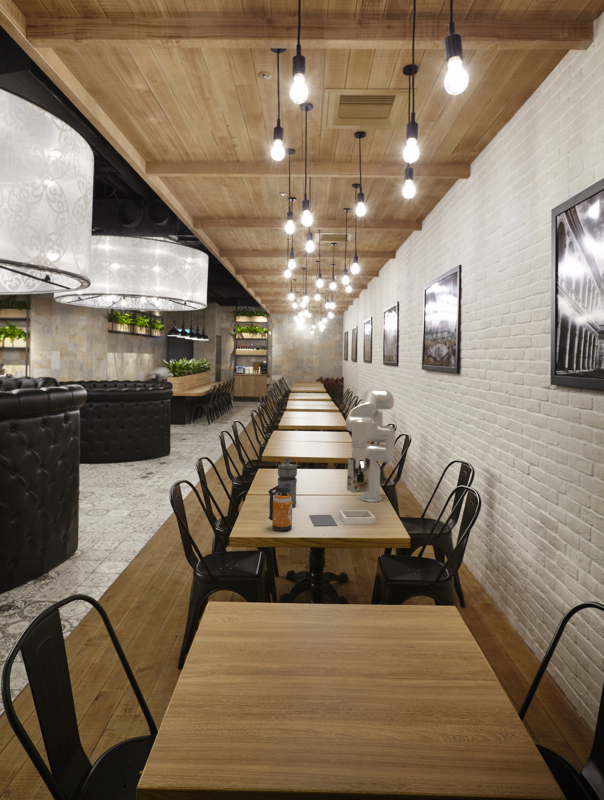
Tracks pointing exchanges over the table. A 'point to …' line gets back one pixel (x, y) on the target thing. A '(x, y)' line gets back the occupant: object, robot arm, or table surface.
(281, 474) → the beverage bottle
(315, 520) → the mat
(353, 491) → the coffee box
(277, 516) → the canister
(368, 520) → the holder
